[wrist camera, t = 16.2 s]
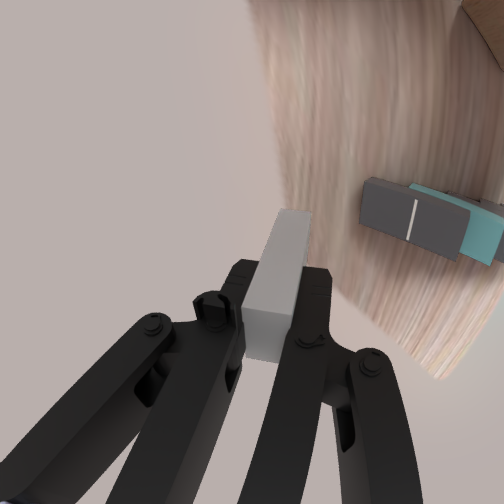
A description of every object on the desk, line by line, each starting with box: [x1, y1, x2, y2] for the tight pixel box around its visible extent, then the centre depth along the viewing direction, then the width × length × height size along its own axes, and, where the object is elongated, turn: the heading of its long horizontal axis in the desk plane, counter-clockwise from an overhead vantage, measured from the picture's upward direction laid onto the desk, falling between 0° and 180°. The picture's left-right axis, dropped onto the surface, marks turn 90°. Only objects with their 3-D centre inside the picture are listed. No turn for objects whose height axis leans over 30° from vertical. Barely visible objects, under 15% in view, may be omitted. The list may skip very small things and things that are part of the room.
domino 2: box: [408, 183, 504, 266], centre depth 24 cm, size 5×2×12 cm
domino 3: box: [447, 191, 504, 263], centre depth 23 cm, size 5×2×12 cm
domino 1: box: [359, 177, 471, 262], centre depth 26 cm, size 5×2×12 cm
